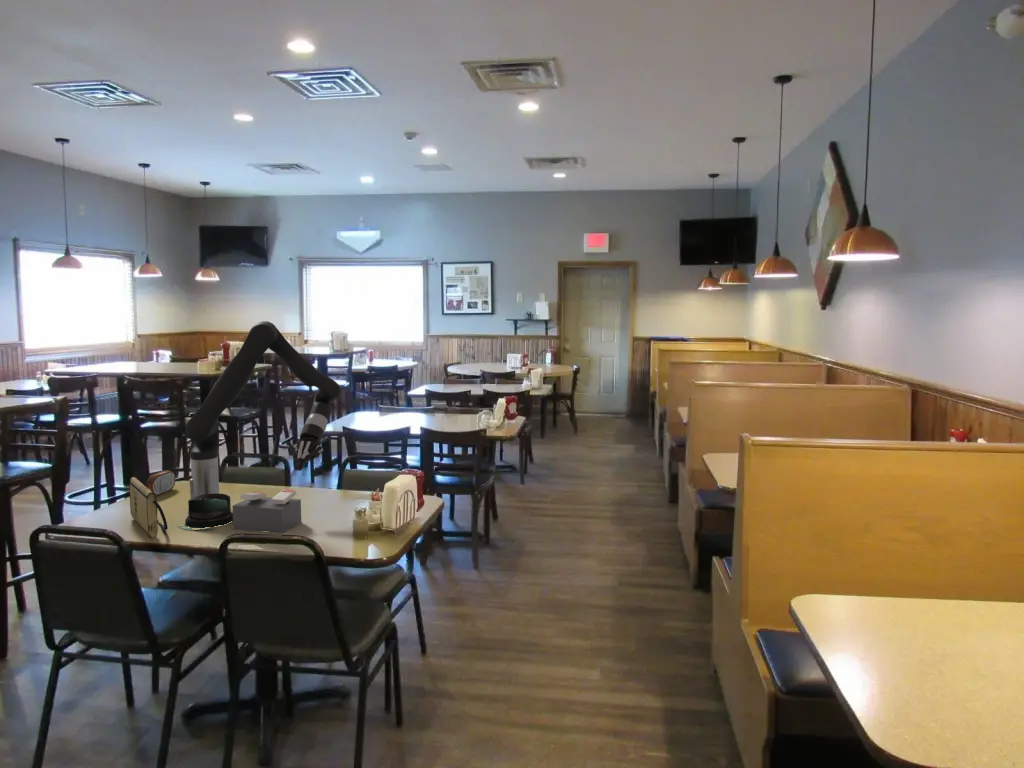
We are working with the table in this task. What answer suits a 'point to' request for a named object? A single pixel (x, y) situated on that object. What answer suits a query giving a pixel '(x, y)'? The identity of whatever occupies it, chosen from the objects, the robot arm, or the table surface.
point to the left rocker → (253, 496)
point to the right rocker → (283, 496)
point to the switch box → (266, 515)
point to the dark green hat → (208, 511)
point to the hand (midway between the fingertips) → (298, 469)
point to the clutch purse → (145, 507)
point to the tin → (161, 482)
